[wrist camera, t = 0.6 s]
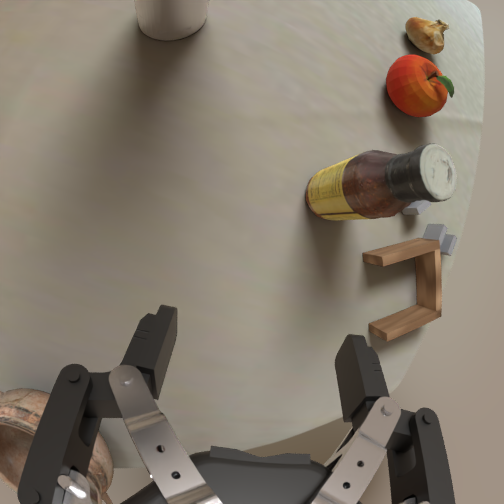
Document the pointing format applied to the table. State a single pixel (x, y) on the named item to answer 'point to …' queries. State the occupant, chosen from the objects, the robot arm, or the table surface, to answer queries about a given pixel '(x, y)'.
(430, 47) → the onion
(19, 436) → the cooking pot
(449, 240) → the clip
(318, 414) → the table surface
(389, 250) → the frame
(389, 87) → the fruit
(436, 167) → the sauce bottle
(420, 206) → the clip
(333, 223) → the table surface
